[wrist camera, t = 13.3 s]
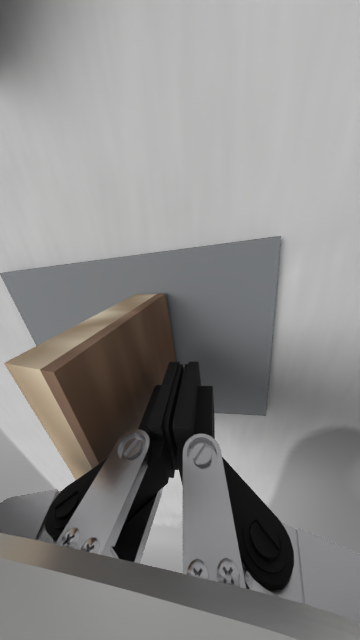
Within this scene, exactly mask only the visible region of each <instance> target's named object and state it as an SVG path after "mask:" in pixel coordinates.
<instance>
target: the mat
mask: <svg viewBox="0 0 360 640" xmlns="http://www.w3.org/2000/svg"><path fill="white" fill-rule="evenodd" d="M280 241H281V236H278V237H270V238H262V239H255V240H247V241H240V242H232V243H224V244H217V245H209V246H202V247H194V248H187V249H179V250H171V251H164V252H156V253H149V254H141V255H133V256H126V257H118V258H111V259H103V260H95V261H88V262H80V263H73V264H65V265H57V266H50V267H42V268H35V269H27V270H20V271H12V272H5V273H0V275H1V277H2V279H3V281H4V283H5V285H6V287H7V289H8V291H9V293H10V295H11V297H12V299H13V301H14V303H15V305H16V307H17V309H18V311H19V312H20V314H21V316H22V318H23V320H24V322H25V324H26V326H27V328H28V330H29V332H30V334H31V336H32V338H33V340H34V342H35V344H36V346H38V345H40V344H42V343H43V342H45V341H47V340H49V339H51V338H53V337H55V336H57V335H59V334H61V333H62V332H64V331H66V330H68V329H70V328H72V327H74V326H76V325H78V324H80V323H81V322H83V321H85V320H87V319H89V318H91V317H93V316H95V315H97V314H99V313H100V312H102V311H104V310H106V309H108V308H110V307H112V306H114V305H116V304H118V303H119V302H121V301H123V300H125V299H127V298H129V297H131V296H133V295H135V294H163V293H165V294H166V301H167V307H168V313H169V319H170V325H171V332H172V338H173V344H174V350H175V356H176V362H180V364H183V367H185V364H188V363H189V362H199V369H200V378H201V386H213V396H214V413H226V414H245V415H263V416H266V410H267V398H268V386H269V374H270V362H271V350H272V338H273V326H274V313H275V301H276V289H277V277H278V265H279V253H280Z"/></svg>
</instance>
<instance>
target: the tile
mask: <svg viewBox="0 0 360 640" xmlns="http://www.w3.org/2000/svg"><path fill="white" fill-rule="evenodd" d="M169 362H176V356H175V350H174V344H173V338H172V332H171V325H170V319H169V313H168V307H167V301H166V294H165V293H163V294H135V295H133V296H131V297H129V298H127V299H125V300H123V301H121V302H119V303H118V304H116V305H114V306H112V307H110V308H108V309H106V310H104V311H102V312H100V313H99V314H97V315H95V316H93V317H91V318H89V319H87V320H85V321H83V322H81V323H80V324H78V325H76V326H74V327H72V328H70V329H68V330H66V331H64V332H62V333H61V334H59V335H57V336H55V337H53V338H51V339H49V340H47V341H45V342H43V343H42V344H40V345H38V346H36V347H34V348H32V349H30V350H28V351H26V352H25V353H23V354H21V355H19V356H17V357H15V358H13V359H11V360H9V361H7V362H6V363H4V364H5V365H6V367H7V369H8V370H9V372H10V374H11V375H12V377H13V378H14V380H15V382H16V383H17V385H18V387H19V388H20V390H21V391H22V393H23V395H24V396H25V398H26V400H27V401H28V403H29V404H30V406H31V408H32V409H33V411H34V413H35V414H36V416H37V417H38V419H39V421H40V422H41V424H42V426H43V427H44V429H45V430H46V432H47V434H48V435H49V437H50V439H51V440H52V442H53V443H54V445H55V447H56V448H57V450H58V452H59V453H60V455H61V456H62V458H63V460H64V461H65V463H66V465H67V466H68V468H69V469H70V471H71V473H72V474H73V476H74V478H75V479H76V480H77V479H78V478H80V477H81V476H83V475H84V474H86V473H87V472H88V471H90V470H91V469H93V468H94V467H96V466H97V465H98V464H100V463H101V462H103V461H104V460H106V459H107V458H108V456H109V455H110V453H111V452H112V450H113V448H114V447H115V445H116V443H117V442H118V440H119V439H120V438H121V437H122V436H123V435H124V434H125V433H127V432H129V431H131V430H135V429H138V428H139V425H140V423H141V420H142V418H143V415H144V412H145V410H146V407H147V405H148V402H149V400H150V397H151V395H152V392H153V389H154V387H155V386H156V385H162V382H163V379H164V376H165V373H166V370H167V367H168V365H169Z"/></svg>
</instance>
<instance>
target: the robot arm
mask: <svg viewBox="0 0 360 640" xmlns="http://www.w3.org/2000/svg"><path fill="white" fill-rule="evenodd" d="M178 469H179V472H180V476H181V481H182V485H183V574H182V573H178V572H173V571H169V570H165V569H160V568H156V567H152V566H148V565H143V564H140V561H141V558H142V555H143V551H144V548H145V545H146V542H147V539H148V536H149V532H150V529H151V526H152V523H153V520H154V517H155V513H156V510H157V507H158V504H159V501H160V498H161V495H162V489H163V487H164V486H165V485H166V484H167V483H168V479H169V477H171V478H174V472H175V470H178ZM0 640H360V554H358V553H356V552H353V551H351V550H349V549H347V548H344V547H342V546H340V545H338V544H335V543H333V542H330V541H328V540H326V539H324V538H322V537H319V536H317V535H315V534H312V533H310V532H308V531H306V530H303V529H301V528H299V527H297V529H294V528H292V527H290V526H288V525H285V524H283V523H281V522H280V521H279V519H278V518H277V517H276V516H275V515H274V514H273V513H272V511H271V510H270V509H269V508H268V507H267V506H266V505H265V504H264V502H263V501H262V500H261V499H260V498H259V497H258V496H257V495H256V494H255V493H254V491H253V490H252V489H251V488H250V487H249V486H248V485H247V484H246V483H245V482H244V480H243V479H242V478H241V477H240V476H239V475H238V474H237V473H236V472H235V471H234V469H233V468H232V467H231V466H230V465H229V464H228V463H227V462H226V461H225V460H224V458H223V457H222V455H221V450H220V447H219V444H218V443H217V442H216V440H215V438H214V396H213V386H201V378H200V369H199V362H189V363H188V364H185V367H183V364H180V362H169V365H168V367H167V370H166V373H165V376H164V379H163V382H162V385H156V386H155V387H154V389H153V392H152V395H151V397H150V400H149V402H148V405H147V407H146V410H145V412H144V415H143V418H142V420H141V423H140V425H139V428H138V429H135V430H131V431H129V432H127V433H125V434H124V435H123V436H122V437H121V438H120V439H119V440H118V442H117V443H116V445H115V447H114V448H113V450H112V452H111V453H110V455H109V456H108V458H107V459H106V460H104V461H103V462H101V463H100V464H98V465H97V466H96V467H94V468H93V469H91V470H90V471H88V472H87V473H86V474H84V475H83V476H81V477H80V478H78V479H77V480H76V481H74V482H73V483H71V484H70V485H68V486H67V487H66V488H65V489H63V490H62V491H58V490H57V489H56V490H50V491H44V492H38V493H33V494H27V495H21V496H15V497H11V498H8V499H6V500H4V501H3V502H1V503H0Z"/></svg>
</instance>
